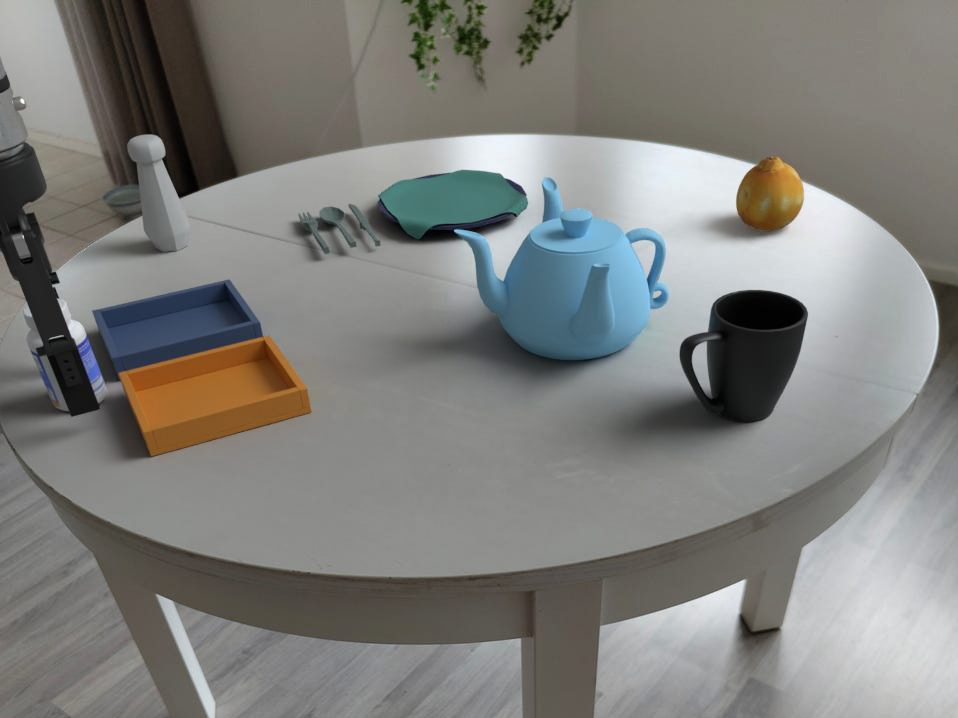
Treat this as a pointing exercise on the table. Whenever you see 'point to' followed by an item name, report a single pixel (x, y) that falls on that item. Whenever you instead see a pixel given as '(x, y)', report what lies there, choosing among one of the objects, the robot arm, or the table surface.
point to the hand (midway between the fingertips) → (75, 380)
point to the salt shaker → (158, 196)
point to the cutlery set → (434, 204)
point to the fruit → (770, 195)
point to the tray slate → (175, 325)
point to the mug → (747, 352)
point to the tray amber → (213, 394)
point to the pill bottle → (83, 348)
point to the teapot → (572, 283)
